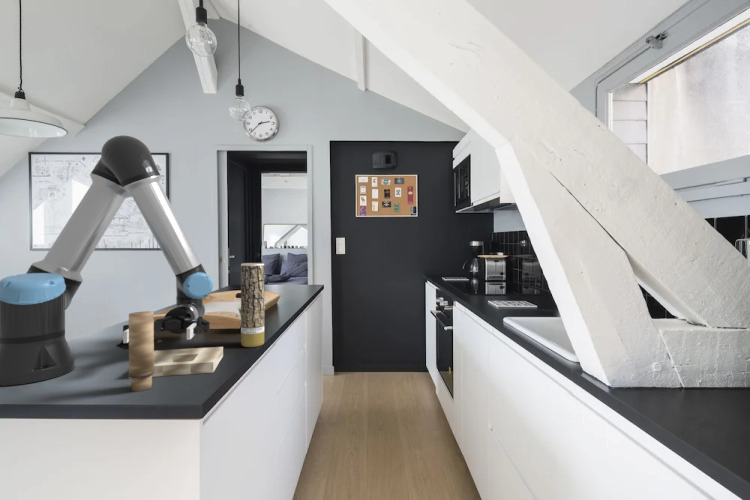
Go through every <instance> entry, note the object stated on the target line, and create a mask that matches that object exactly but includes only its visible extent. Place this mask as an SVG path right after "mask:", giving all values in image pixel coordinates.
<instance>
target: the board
mask: <svg viewBox="0 0 750 500" xmlns="http://www.w3.org/2000/svg"><path fill="white" fill-rule="evenodd" d="M223 357H224V346H215V347H211V346H210V347H197V348H195V347H194V348H193V347H192V348H178V349H175V348H174V349H162V350H161V349H160V350H157V349H156V350H154V374H152V378H154V377H169V376H183V375H185V376H186V375H195V374H209V373H210V374H211V373H214V372H215V371H216V369H217V367H218V366H219V363H220V362H221V360H222V359H223ZM128 379H131V378H130V377H129V376H128Z"/></svg>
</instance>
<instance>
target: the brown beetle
mask: <svg viewBox="0 0 750 500" xmlns="http://www.w3.org/2000/svg"><path fill="white" fill-rule="evenodd" d="M161 342H163V341H162V340H160V339H157V338H156V337H154V345H155V344H159V343H161ZM116 347H117V348H120V349H125V350H129V342H128V343H123V339H122V340H121V342H120V343H118V344H116Z"/></svg>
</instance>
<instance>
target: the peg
mask: <svg viewBox="0 0 750 500" xmlns="http://www.w3.org/2000/svg"><path fill="white" fill-rule="evenodd" d="M154 317H155V316H154V311H150V310H149V311H137V312H130V313H128V324H129V349H128V378H129V377H130V378H129V379H130V390H131V391H132V392H144V391H147V390H149V389H151V388H153V377H152V374H154V351H155V344H154V338H155V337H154V336H155V331H154V321H155V318H154Z"/></svg>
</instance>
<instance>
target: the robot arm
mask: <svg viewBox="0 0 750 500" xmlns="http://www.w3.org/2000/svg"><path fill="white" fill-rule="evenodd" d="M101 148H102V149H101V152H100V158H99V160H98V161H97V163H96V165H94V167H93V169H92V171H91V173H90V174H89V176H90V178H91V185H90V186H89V188H88V189H87V191H86V192H85V194H84V196H83V197H82V199H81V200H80V202H79V203H78V205H77V206H76V208H75V209H74V210H73V213H72V214H71V216H70V218H69V219H68V220H67V222H66V224H65V225H64V227H63V228H62V230H61V232H60V233H59V235H58V236H57V237H56V239H55V240H54V242H53V244H52V246H51V247H50V249H49V250H48V251H47V253H46V255H45V256H44V258H43V259H42V260H38V261H35V262H32V264H30V266H29V268H28V269H27V271H26V273H21V274H16V275H9V276H6V277H4V278H2V279H0V386H3V387H5V386H17V385H25V384H32V383H37V382H41V381H46V380H50V379H51V380H52V379H54V378H57V377H60V376H63V375H66V374H68V373H70V372H72V371H73V370H75V357H74V355H73V352H72V350H71V348H70V346H69V343H68V341H67V339H66V310H67V309H68V308H69V306H70V305H71V303H72V301H73V298H74V296H75V295H76V293H77V291H78V290H79V288H80V286H81V284H82V283H83V277H82V275H81V273H82V271H83V269H84V267H85V266H86V264H87V263H88V261H89V259H90V257H91V256H92V254H93V253H94V251H95V250H96V248H97V245H98V244H99V242H101V240H102V238H103V237H104V234H105V233H106V231H107V230H108V227H109V226H110V225H111V223H112V221H113V220H114V218H115V216H116V215H117V213H118V211H119V210H120V208H121V207H122V204H123V203H124V202H125V200H126V199H128V198H132V199H133V201H134V203H135V204H136V206H137V208H138V209H139V211H140V213H141V215H142V218H143V219H144V221H145V223H146V225H147V226H148V229H149V230H150V231H151V233H152V235H153V237H154V239H155V241H156V243H157V245H158V246H159V249H160V250H161V252H162V254H163V256H164V258H165V259H166V261H167V263H168V265H169V267H170V268H171V270H172V272H173V274H174V275H175V278H176V279H175V282H176V286H175V289H176V297H175V298H176V299H175V300H176V306H175V307H173V308H171V309H169V311H168V312H166V314H165V316H164V317H161V318H157V319H155V320H154V332H157V333H163V332H169V333H171V334H175V335H182V334H184V333H186V340H187V341H189V340H191V339H192V338H193V337H195V335H196V334H197V335H198V334H201V333H202V331H203V332H205V333H208V332H210V331H211V330H210V329H211V327H210V325H211V324H210V321H209V320H207V319H204V318H203V317H204V315H205V313H206V307H205V304H204V303H203V302H204V301H203V300H204V299H205V298H207V297H208V296H209V295H210V294H212V291H213V288H214V282H213V280H212V278H211V276H210V275H208V274H207V271H206V269H205V268H204V266H203V265H202V262H201V259H200V258H199V256H198V254H197V253H196V251H195V249H194V246H193V245H192V243H191V241H190V239H189V237H188V235H187V232H186V231H185V229H184V227H183V226H182V224H181V221H180V219H179V217H178V216H177V214H176V212H175V209H174V208H173V206H172V204H171V201H170V200H169V198H168V196H167V194H166V191H164V188H163V186H162V184H161V183H160V181H161V179H162V175H161V173H160V172H159V169H158V168H157V165H156V163H155V161H154V158H153V156H152V153H151V151H150V149H149V147H147V145H146V144H145V143H144V142H143V141H142V140H140V139H138V138H136V137H134V136H132V135H131V136H130V135H123V134H122V135H117V136H113V137H111V138H109V139H108V140H107V141H106V142H105V143H104V144H103V146H102V147H101ZM122 336H123V337H122V340H123V343H128V342H129V323H128V324H125V325H122Z"/></svg>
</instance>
